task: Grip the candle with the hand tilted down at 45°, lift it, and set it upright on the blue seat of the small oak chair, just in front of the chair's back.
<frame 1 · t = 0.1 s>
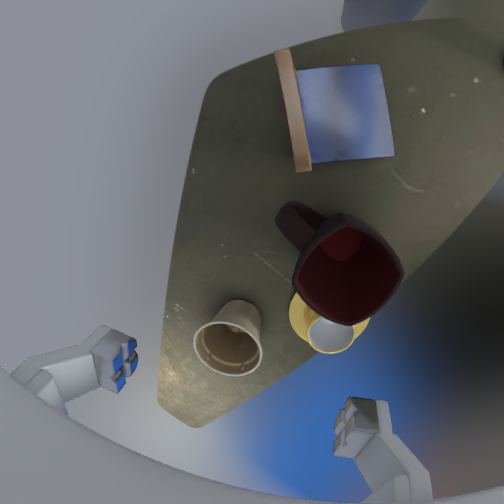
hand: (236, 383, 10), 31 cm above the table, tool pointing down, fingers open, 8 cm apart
chair: (336, 117, 33), on the table
flower pot: (242, 315, 46), on the table
cup: (330, 311, 42), on the table
mug: (329, 229, 38), on the table
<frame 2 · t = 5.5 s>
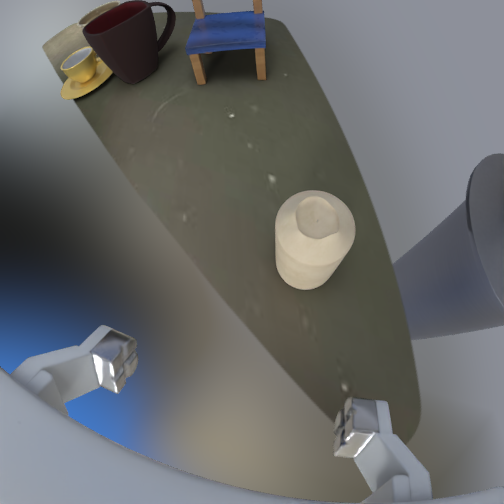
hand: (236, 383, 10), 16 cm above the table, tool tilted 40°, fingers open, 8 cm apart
chair: (233, 63, 38), on the table
flower pot: (112, 42, 46), on the table
candle: (304, 262, 28), on the table
cup: (89, 78, 41), on the table
mug: (149, 66, 40), on the table
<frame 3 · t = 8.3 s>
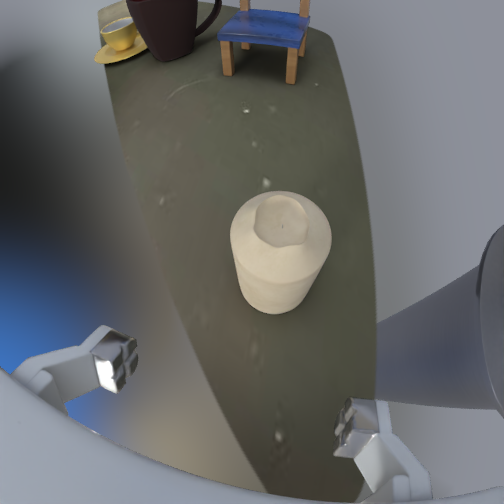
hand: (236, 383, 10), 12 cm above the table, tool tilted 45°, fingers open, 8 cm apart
chair: (266, 62, 36), on the table
candle: (274, 281, 24), on the table
cup: (126, 48, 41), on the table
mug: (184, 48, 39), on the table
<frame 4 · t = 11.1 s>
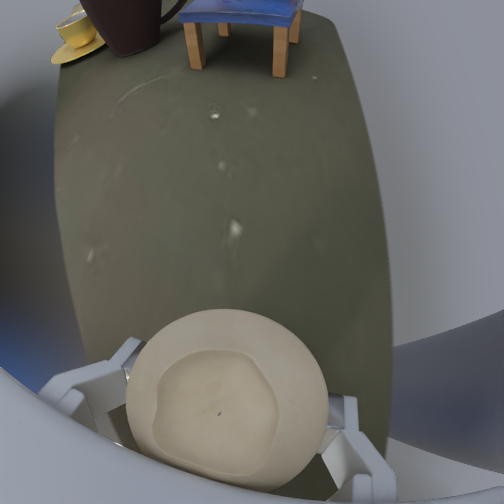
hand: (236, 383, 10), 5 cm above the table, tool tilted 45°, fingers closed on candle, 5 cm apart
chair: (249, 51, 27), on the table
candle: (241, 390, 15), on the table, touching gripper
cup: (86, 44, 31), on the table
mug: (150, 39, 30), on the table
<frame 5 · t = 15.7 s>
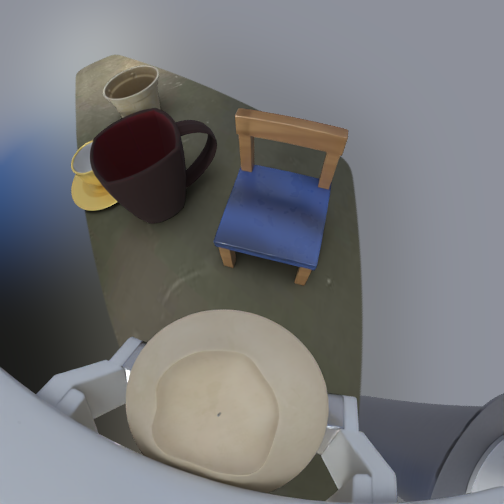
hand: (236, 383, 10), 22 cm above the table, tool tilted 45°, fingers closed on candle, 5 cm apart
chair: (273, 238, 36), on the table
flower pot: (144, 119, 46), on the table
candle: (241, 391, 15), point 16 cm above the table, touching gripper
cup: (106, 178, 41), on the table
mug: (174, 196, 39), on the table
when the fingers open (12 cm above the table, at t = 20.5 s): candle stays where it is, resting on chair.
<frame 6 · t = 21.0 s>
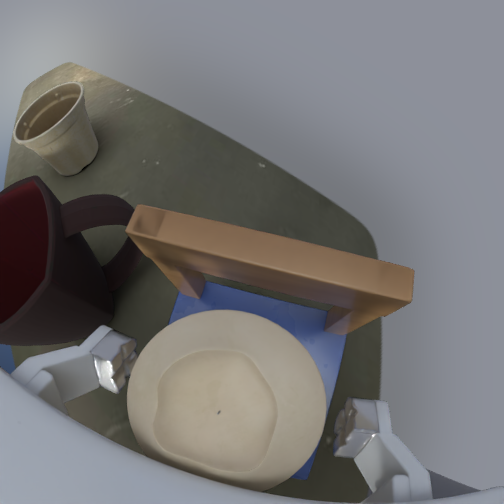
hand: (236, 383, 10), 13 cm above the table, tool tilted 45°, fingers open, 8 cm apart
chair: (247, 379, 22), on the table
flower pot: (77, 158, 31), on the table
candle: (241, 390, 15), point 7 cm above the table, touching chair
mug: (103, 295, 24), on the table
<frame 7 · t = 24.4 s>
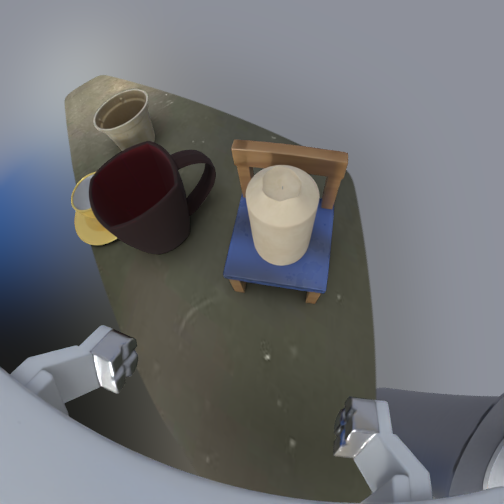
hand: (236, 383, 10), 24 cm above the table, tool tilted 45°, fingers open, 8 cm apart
chair: (281, 259, 37), on the table
flower pot: (139, 143, 47), on the table
candle: (281, 241, 30), point 7 cm above the table, touching chair
cup: (107, 210, 41), on the table
mug: (179, 224, 40), on the table
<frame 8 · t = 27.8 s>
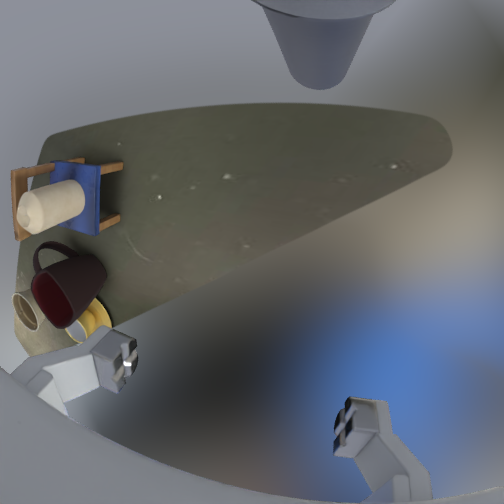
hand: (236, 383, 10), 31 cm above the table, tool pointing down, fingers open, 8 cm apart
chair: (98, 188, 44), on the table
flower pot: (49, 294, 56), on the table
candle: (73, 197, 37), point 7 cm above the table, touching chair
cup: (90, 314, 54), on the table
mug: (88, 261, 50), on the table
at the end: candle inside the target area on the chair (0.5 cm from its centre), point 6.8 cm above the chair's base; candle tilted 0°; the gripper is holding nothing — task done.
